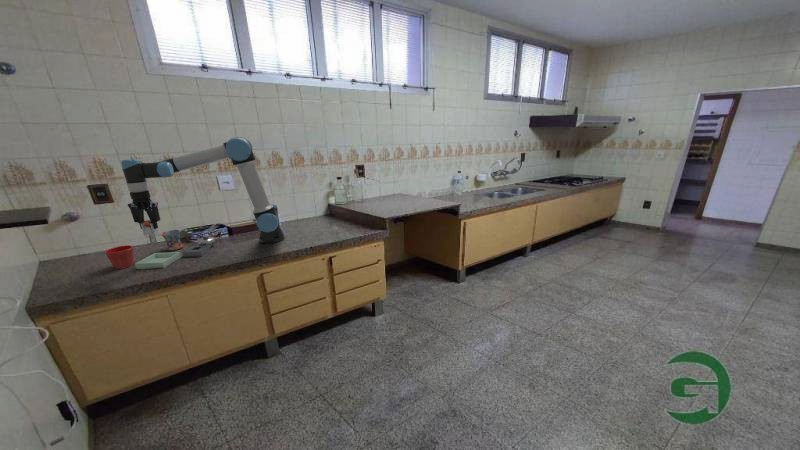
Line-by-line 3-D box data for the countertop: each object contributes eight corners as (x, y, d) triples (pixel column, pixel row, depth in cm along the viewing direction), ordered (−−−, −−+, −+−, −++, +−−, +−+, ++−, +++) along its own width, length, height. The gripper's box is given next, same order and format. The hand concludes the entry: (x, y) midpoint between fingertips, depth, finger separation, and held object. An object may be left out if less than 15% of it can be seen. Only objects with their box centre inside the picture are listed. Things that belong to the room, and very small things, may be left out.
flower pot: (123, 261, 164) (118, 245, 161) (142, 261, 164) (137, 244, 161) (104, 270, 154) (98, 252, 151) (125, 270, 154) (119, 252, 151)
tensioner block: (219, 243, 187) (217, 233, 185) (201, 256, 169) (198, 245, 167) (203, 244, 187) (201, 234, 185) (183, 256, 168) (180, 246, 166)
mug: (182, 250, 179) (178, 233, 176) (163, 252, 175) (159, 235, 172) (186, 243, 189) (182, 227, 186) (169, 246, 186) (164, 230, 182)
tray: (181, 257, 168) (180, 252, 168) (164, 267, 155) (162, 262, 154) (156, 258, 168) (154, 253, 167) (136, 268, 155) (134, 263, 154)
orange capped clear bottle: (160, 241, 160) (154, 219, 156) (154, 244, 156) (148, 222, 152) (152, 241, 160) (146, 220, 156) (147, 244, 156) (140, 222, 152)
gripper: (161, 188, 153) (172, 231, 160) (127, 189, 153) (140, 232, 160) (150, 191, 146) (163, 236, 153) (115, 192, 146) (128, 237, 153)
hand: (151, 234), depth 157 cm, fingers closed on orange capped clear bottle, 4 cm apart
